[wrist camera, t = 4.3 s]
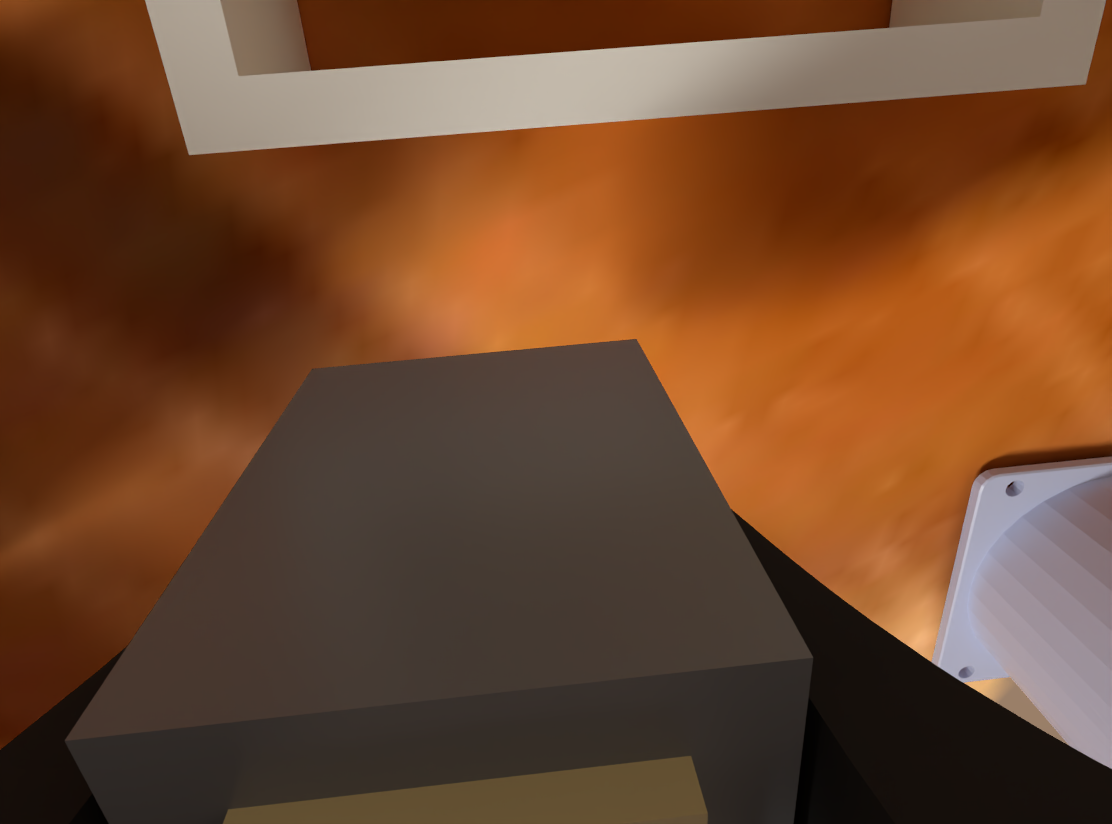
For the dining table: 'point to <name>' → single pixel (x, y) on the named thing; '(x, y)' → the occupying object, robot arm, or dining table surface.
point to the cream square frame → (594, 73)
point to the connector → (462, 618)
